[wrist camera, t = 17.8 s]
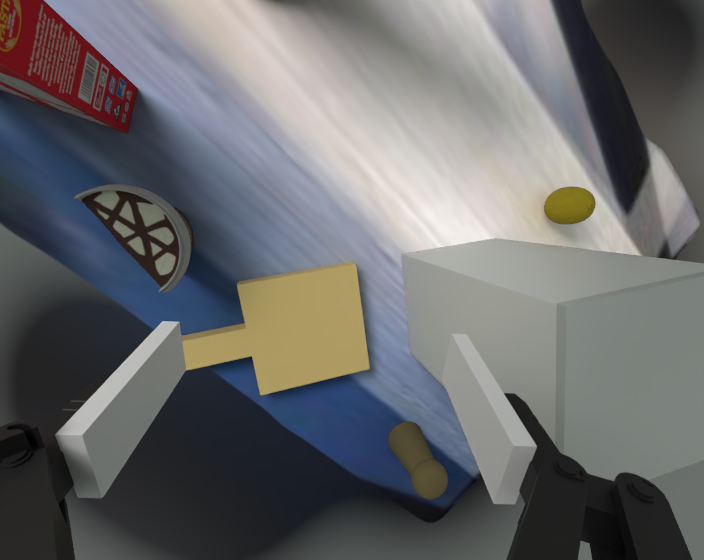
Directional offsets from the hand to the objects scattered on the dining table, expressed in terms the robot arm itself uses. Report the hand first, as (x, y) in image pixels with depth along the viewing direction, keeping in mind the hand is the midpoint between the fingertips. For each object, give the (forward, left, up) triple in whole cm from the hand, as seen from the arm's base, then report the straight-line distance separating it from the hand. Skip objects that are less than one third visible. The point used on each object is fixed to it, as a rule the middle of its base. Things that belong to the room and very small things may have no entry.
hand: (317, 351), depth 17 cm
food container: (-3, -15, -32) cm, 36 cm away
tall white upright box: (+3, +27, -32) cm, 42 cm away
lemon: (-13, +40, -32) cm, 53 cm away
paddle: (+11, -2, -32) cm, 34 cm away
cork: (+28, +22, -32) cm, 48 cm away
